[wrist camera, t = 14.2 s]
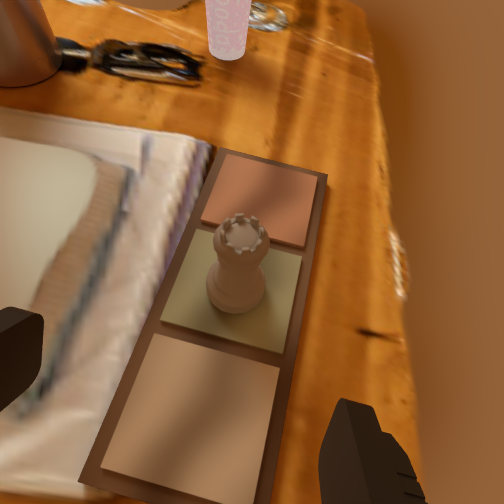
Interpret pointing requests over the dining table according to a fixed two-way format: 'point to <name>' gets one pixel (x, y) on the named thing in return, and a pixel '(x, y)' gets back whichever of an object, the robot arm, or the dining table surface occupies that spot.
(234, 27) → the beverage cup
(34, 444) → the dining table surface
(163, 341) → the tile board
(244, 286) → the rook chess piece
